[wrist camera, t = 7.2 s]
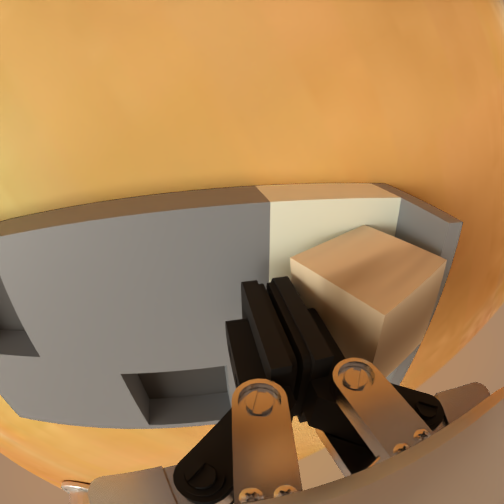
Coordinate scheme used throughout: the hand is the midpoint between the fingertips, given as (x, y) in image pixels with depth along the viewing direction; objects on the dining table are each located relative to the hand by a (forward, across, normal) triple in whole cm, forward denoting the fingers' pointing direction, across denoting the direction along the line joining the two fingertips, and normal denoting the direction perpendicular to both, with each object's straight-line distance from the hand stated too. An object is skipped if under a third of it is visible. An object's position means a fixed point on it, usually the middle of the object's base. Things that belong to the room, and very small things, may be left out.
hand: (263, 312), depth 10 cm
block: (+1, -3, 0) cm, 3 cm away
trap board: (+4, +6, +3) cm, 7 cm away
